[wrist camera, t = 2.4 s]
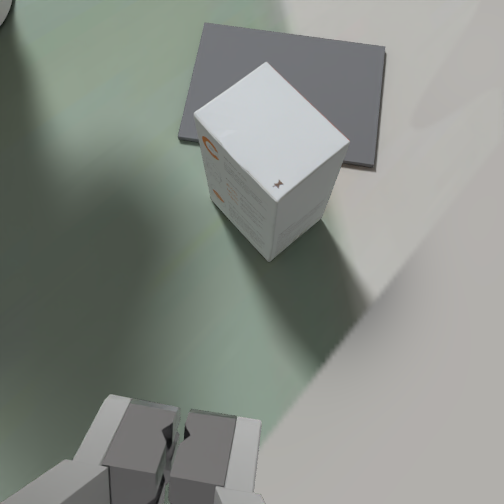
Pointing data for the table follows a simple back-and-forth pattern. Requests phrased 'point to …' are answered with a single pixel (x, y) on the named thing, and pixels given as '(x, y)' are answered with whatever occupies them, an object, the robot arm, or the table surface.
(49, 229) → the table surface
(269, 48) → the mat
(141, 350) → the table surface
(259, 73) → the small box
